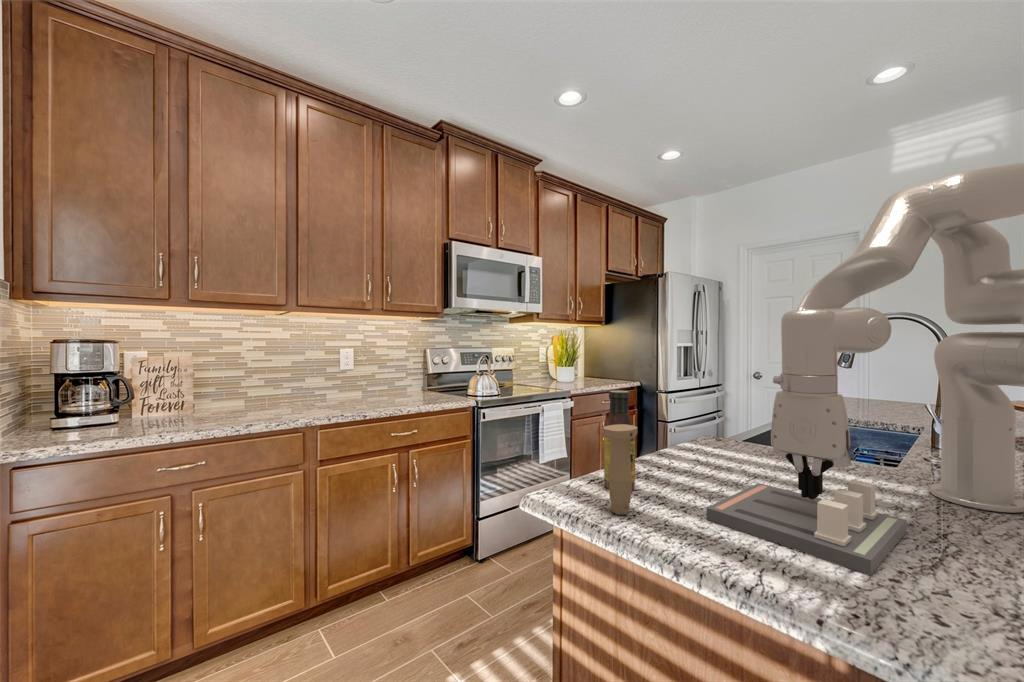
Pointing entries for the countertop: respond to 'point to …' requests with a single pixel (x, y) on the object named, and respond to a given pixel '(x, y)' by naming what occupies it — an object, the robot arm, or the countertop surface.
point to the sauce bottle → (616, 416)
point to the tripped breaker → (852, 508)
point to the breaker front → (832, 522)
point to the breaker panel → (805, 526)
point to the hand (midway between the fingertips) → (810, 496)
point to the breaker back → (865, 497)
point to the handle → (620, 466)
